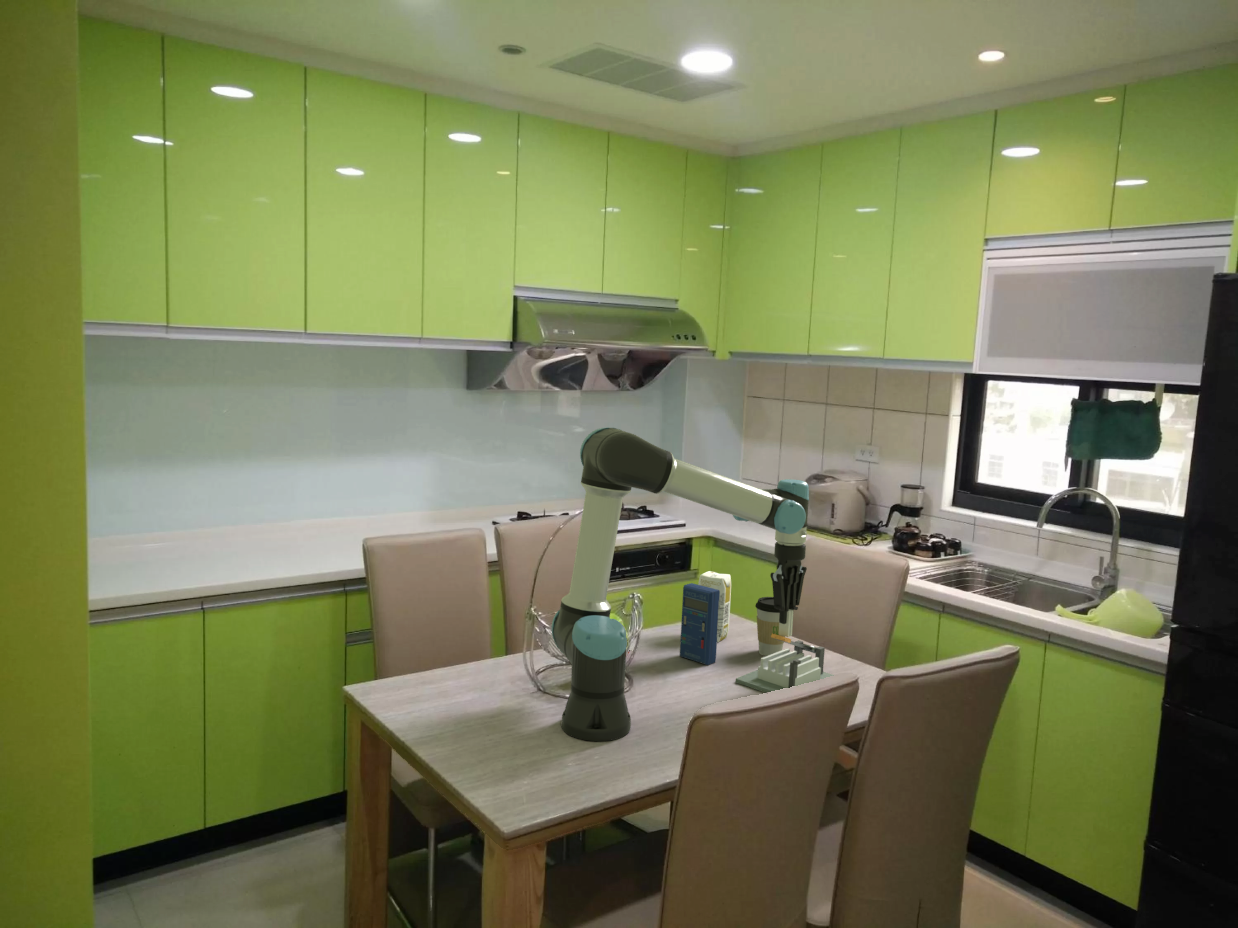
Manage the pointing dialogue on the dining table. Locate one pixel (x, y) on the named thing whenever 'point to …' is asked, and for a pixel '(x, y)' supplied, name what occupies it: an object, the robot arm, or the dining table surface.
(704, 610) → the electronic device
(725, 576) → the juice carton
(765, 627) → the coffee cup
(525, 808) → the dining table surface
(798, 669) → the heatsink base
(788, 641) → the lever
